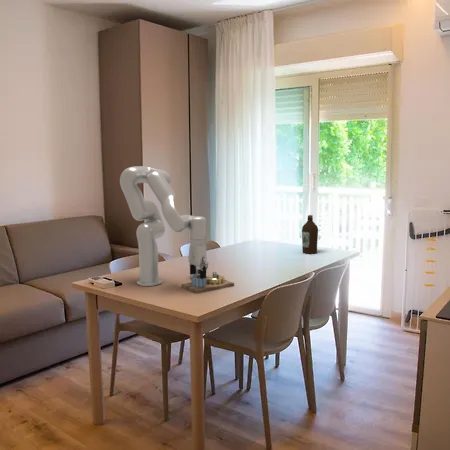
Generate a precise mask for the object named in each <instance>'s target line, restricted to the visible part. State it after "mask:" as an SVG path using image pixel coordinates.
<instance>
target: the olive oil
mask: <svg viewBox="0 0 450 450" xmlns="http://www.w3.org/2000/svg"><path fill="white" fill-rule="evenodd" d="M313 219H314V217H313V214H308V215H307V221H306V222H305V223H304V224H303V226H302V228H301V240H302V241H301V246H302V247H301V248H302V250H301V251H302V254H304V253H305V254H306V255H315V254H317V253H318V238H319V228H318V225H317V224H316V223H315V222H314V220H313Z"/></svg>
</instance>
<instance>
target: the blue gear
mask: <svg viewBox="0 0 450 450" xmlns="http://www.w3.org/2000/svg"><path fill="white" fill-rule="evenodd" d="M191 282H192V286H193V287H205V286H206V285H207V281H206V278H204V279H200V278H197V276H193V277H192V278H191Z"/></svg>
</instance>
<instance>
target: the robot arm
mask: <svg viewBox="0 0 450 450" xmlns="http://www.w3.org/2000/svg"><path fill="white" fill-rule="evenodd" d="M171 181H172V178H171V175H170V174H169V173H168V172H167V171H166V170H164V169H163V170H162V169H159V168H154V167H150V166H146V165H141V166H139V165H136V166H131V167H130V166H129V167H127V168H125V169H124V170H123V171H122V172H121V174H120V177H119V185H120V188H121V190H122V192H123V195H124V197H125V200H126V202H127V205H128V208H129V210H130V213H131V216H132V217H133V219H134V220H135V221H138V222H139V221H145V222H141V223H140V224H139V225H138V227H137V228H136V232H135V233H136V235H135V236H136V239H137V244H138V263H139V264H138V265H139V267H138V268H139V279H138V280H137V282H136V284H137V285H138V286H142V287H154V286H159V285H161V284H162V283H163V282H162V279H161V278H160V277H159V275H160V274H159V272H160V271H159V251H158V249H159V248H158V245H157V241H156V239H160V238H161V237H162V236H163V235H165V232H166V227H165V223H164V220H165V221H166V224H167V225H168V226H169V227H170V229H171V230H173V232H176V233H182V232H186V231H189V230H190V234H189V235H190V236H189V238H190V239H189V240H190V244H189V248H188V249H189V250H188V256H187V257H188V266H189V275H190V274H196V266H200V269H201V271H200V279H204V278H206V276H207V270H208V268H209V262H208V259H207V257H208V256H207V247H206V245H207V243H206V242H207V220H206V217H204V216H201V215H198V216H197V215H192V214H183V215H180V214H179V213H178V211H177V210H176V207H175V199H176V192H175V191H174V190H173V188H172V187H171V185H170V184H171ZM144 183H145V184H147V185H148V186H149V188H150V190H151V191H152V192H153V194H154V195H155V198H157V200H158V201H159V203H160V205H161V213H162V215H161V213H160V209H159V207H158V206H157V205H156V203H155V202H154V201H151V200H146V199H145V198H144V195H143V192H142V191H141V189H140V187H139V186H138V184H144ZM162 216H163V218H164V220H163V218H162ZM190 266H191V267H190ZM202 266H203V268H202Z"/></svg>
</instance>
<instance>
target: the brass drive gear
mask: <svg viewBox="0 0 450 450" xmlns="http://www.w3.org/2000/svg"><path fill="white" fill-rule="evenodd" d="M225 280H226V279H225V276H224V275H219V274H218V273H217V272H216V271H214V272H212V275H206V281H207V284H209V285H217V284H219V285H220V284H223V283H224V282H225Z"/></svg>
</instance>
